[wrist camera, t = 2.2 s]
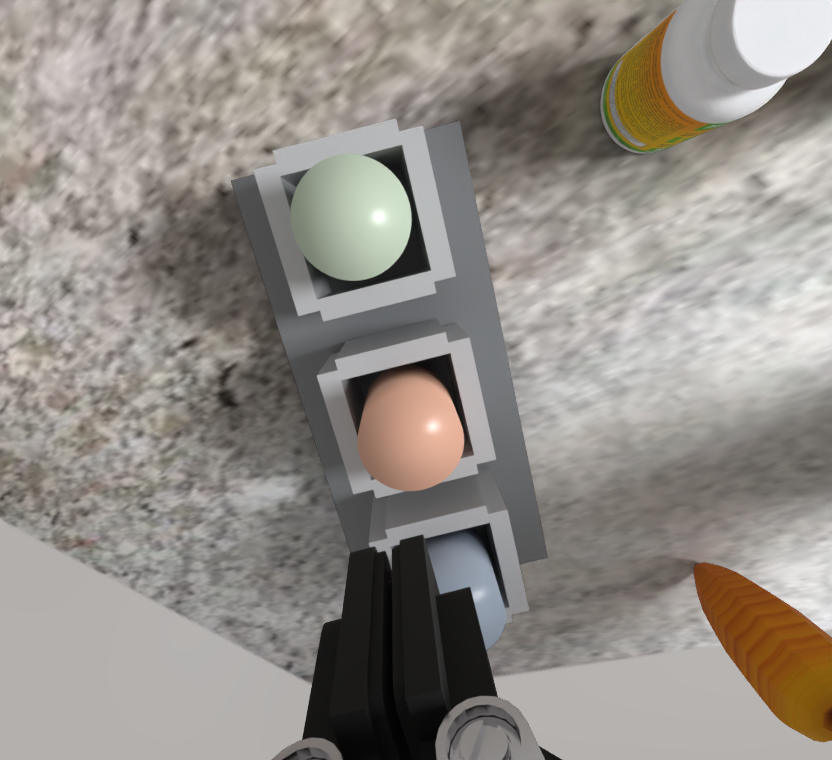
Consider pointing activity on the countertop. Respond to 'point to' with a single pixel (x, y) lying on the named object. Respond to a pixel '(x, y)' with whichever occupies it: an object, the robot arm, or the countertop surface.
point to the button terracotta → (409, 429)
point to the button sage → (350, 217)
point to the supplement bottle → (709, 68)
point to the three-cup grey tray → (403, 347)
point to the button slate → (469, 576)
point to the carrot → (771, 648)
